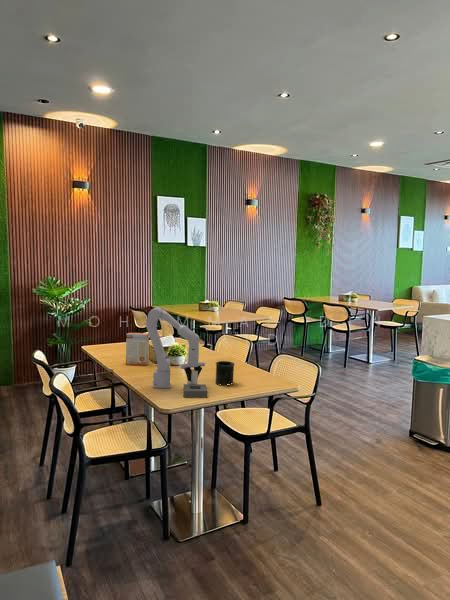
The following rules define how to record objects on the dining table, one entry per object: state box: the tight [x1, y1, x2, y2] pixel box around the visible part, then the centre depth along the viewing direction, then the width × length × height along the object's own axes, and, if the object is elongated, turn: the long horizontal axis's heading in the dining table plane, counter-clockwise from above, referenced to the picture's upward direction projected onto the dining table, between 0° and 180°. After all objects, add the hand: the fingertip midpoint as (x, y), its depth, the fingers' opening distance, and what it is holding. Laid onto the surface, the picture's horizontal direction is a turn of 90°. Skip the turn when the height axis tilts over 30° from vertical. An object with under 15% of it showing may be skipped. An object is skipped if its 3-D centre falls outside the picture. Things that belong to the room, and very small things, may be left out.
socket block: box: [183, 383, 208, 398], centre depth 238 cm, size 12×12×4 cm
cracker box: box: [125, 332, 150, 367], centre depth 296 cm, size 14×6×21 cm, turn 84°
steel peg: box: [186, 368, 199, 384], centre depth 249 cm, size 4×4×8 cm
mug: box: [215, 360, 235, 386], centre depth 261 cm, size 11×15×12 cm
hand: (192, 380), depth 249 cm, fingers closed on steel peg, 4 cm apart
